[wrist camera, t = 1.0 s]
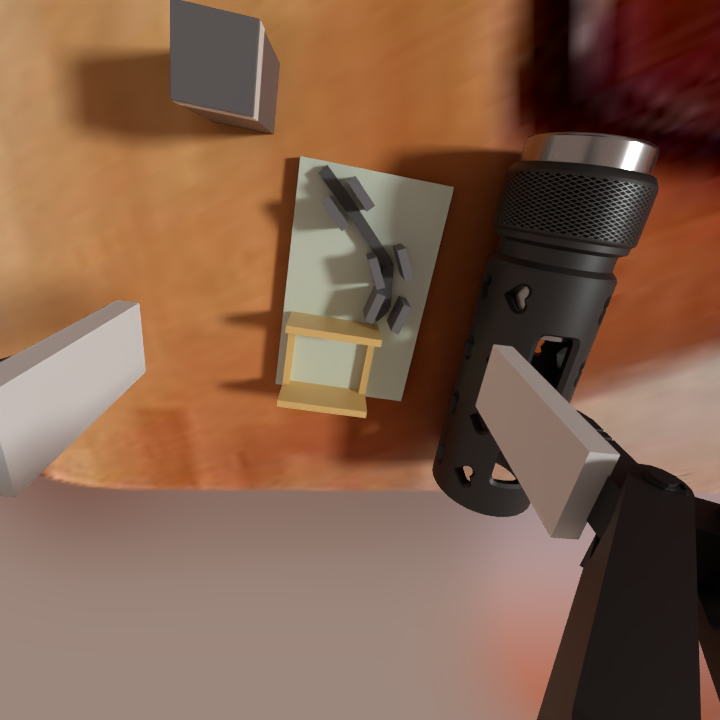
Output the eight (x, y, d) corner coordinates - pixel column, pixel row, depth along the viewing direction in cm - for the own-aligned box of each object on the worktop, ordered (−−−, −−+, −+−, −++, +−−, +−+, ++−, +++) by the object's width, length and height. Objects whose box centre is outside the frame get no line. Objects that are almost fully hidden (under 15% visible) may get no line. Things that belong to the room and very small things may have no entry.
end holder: (291, 311, 34) (285, 325, 31) (377, 324, 35) (382, 340, 32) (282, 385, 37) (276, 406, 33) (363, 396, 38) (365, 418, 34)
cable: (316, 170, 30) (315, 169, 29) (356, 153, 30) (356, 152, 29) (372, 320, 35) (373, 323, 34) (407, 307, 35) (409, 310, 34)
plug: (214, 47, 28) (169, -4, 21) (280, 62, 28) (259, 17, 21) (211, 122, 30) (169, 99, 22) (274, 135, 30) (252, 117, 23)
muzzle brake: (419, 442, 42) (442, 516, 32) (490, 141, 31) (557, 120, 22) (505, 450, 43) (553, 524, 33) (604, 161, 32) (716, 149, 23)
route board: (301, 157, 31) (296, 152, 27) (450, 187, 32) (465, 186, 28) (277, 379, 38) (270, 399, 34) (399, 396, 39) (405, 417, 36)
